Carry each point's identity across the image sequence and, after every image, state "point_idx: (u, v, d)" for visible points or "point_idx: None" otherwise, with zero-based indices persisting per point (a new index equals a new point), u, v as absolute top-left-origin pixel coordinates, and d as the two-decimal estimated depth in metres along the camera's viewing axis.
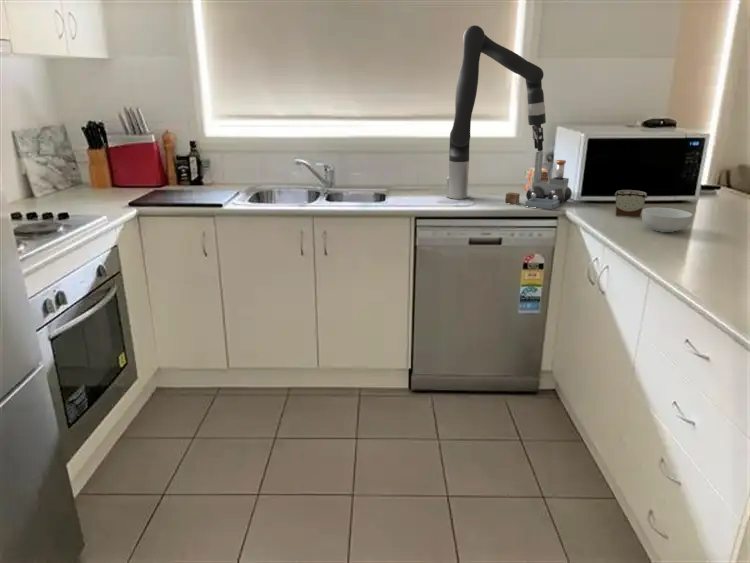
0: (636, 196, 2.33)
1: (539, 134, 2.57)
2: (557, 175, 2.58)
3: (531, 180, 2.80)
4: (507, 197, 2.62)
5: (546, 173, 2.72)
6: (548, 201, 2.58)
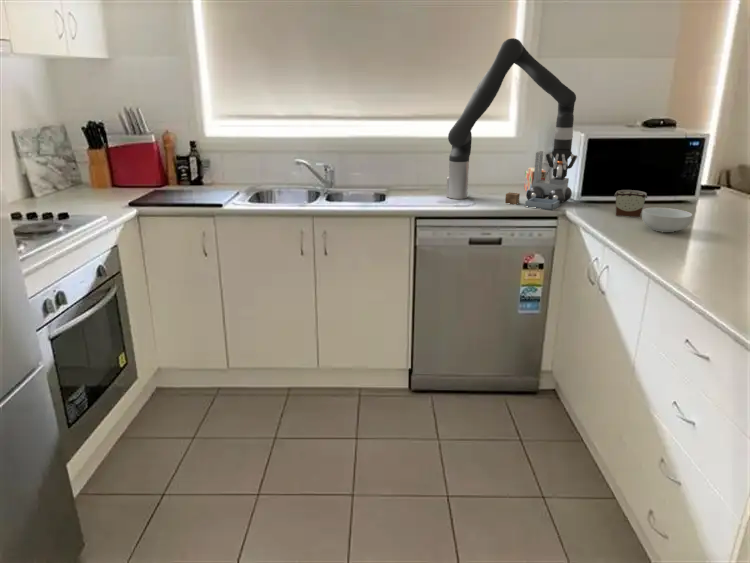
0: (636, 196, 2.33)
1: (573, 162, 2.53)
2: (557, 175, 2.58)
3: (529, 180, 2.81)
4: (507, 197, 2.62)
5: (543, 173, 2.72)
6: (548, 201, 2.58)
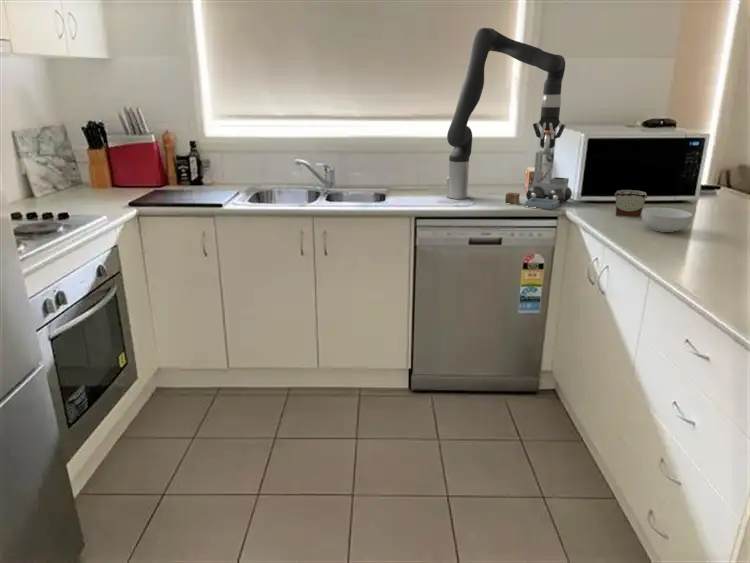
0: (636, 196, 2.33)
1: (561, 131, 2.42)
2: (544, 145, 2.46)
3: (527, 180, 2.81)
4: (507, 197, 2.62)
5: None
6: (548, 201, 2.58)
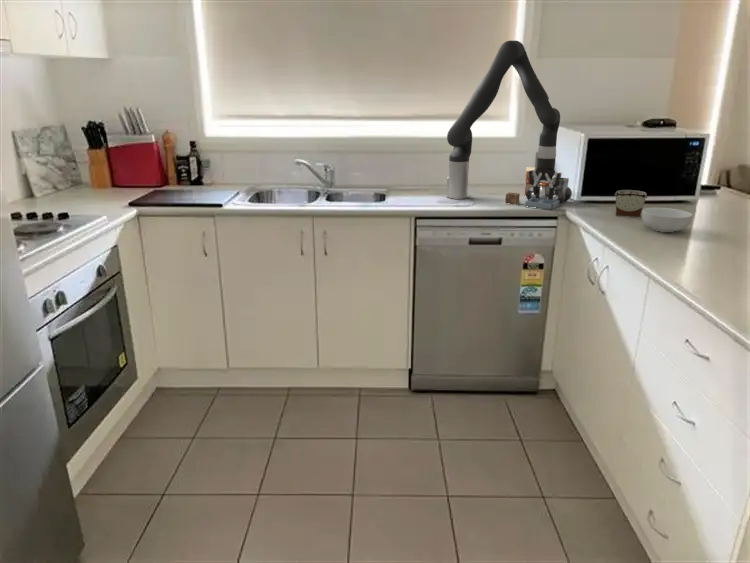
0: (636, 196, 2.33)
1: (559, 179, 2.48)
2: (540, 197, 2.54)
3: None
4: (507, 197, 2.62)
5: None
6: (548, 201, 2.58)
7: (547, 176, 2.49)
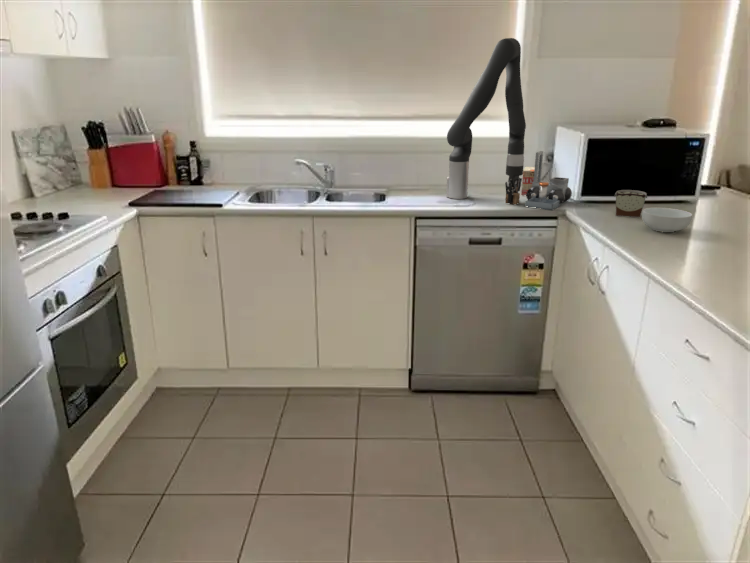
0: (636, 196, 2.33)
1: None
2: (540, 197, 2.54)
3: None
4: (507, 197, 2.62)
5: None
6: (548, 201, 2.58)
7: (518, 182, 2.60)
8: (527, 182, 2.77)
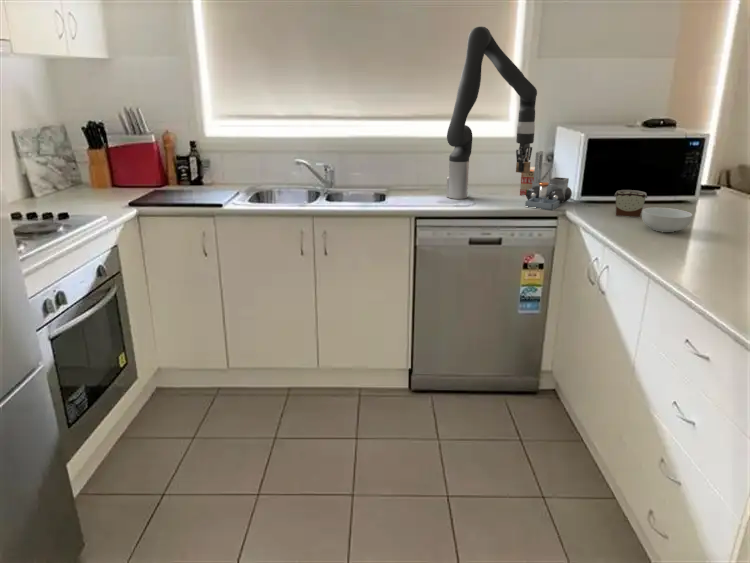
0: (636, 196, 2.33)
1: None
2: (540, 197, 2.54)
3: None
4: (518, 165, 2.61)
5: (532, 172, 2.75)
6: (548, 201, 2.58)
7: (529, 150, 2.60)
8: (526, 182, 2.77)
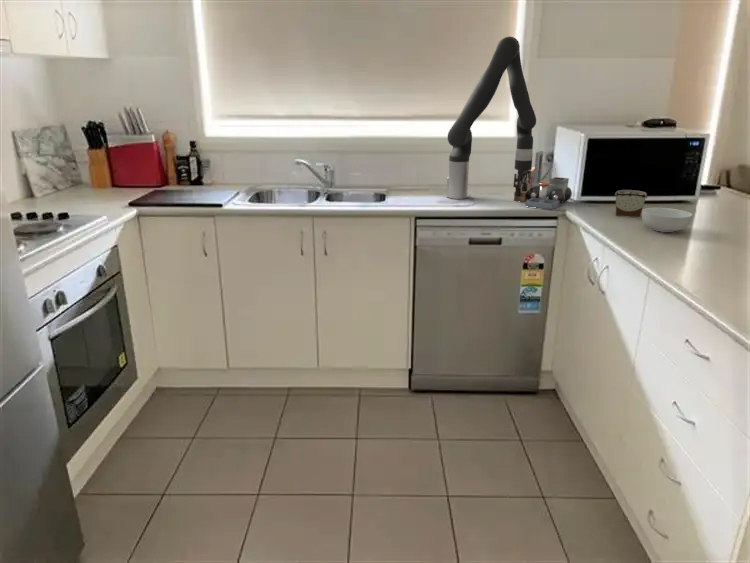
0: (636, 196, 2.33)
1: None
2: (540, 197, 2.54)
3: None
4: None
5: None
6: (548, 201, 2.58)
7: (527, 176, 2.64)
8: None
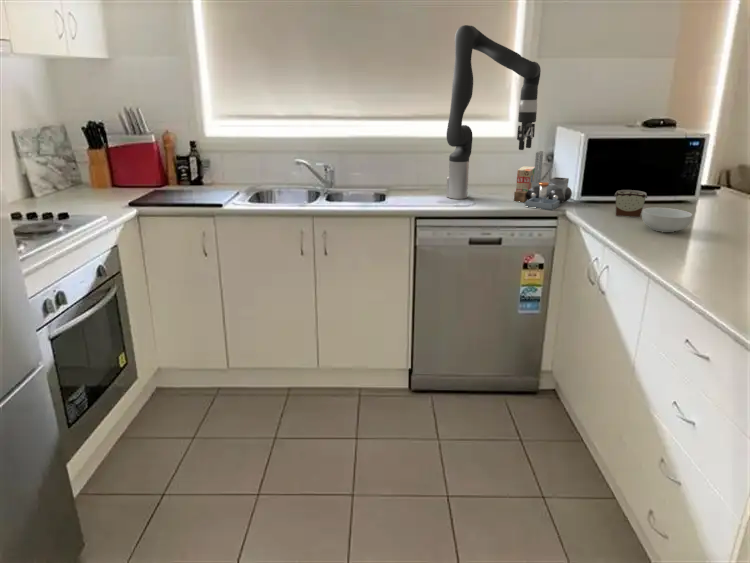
0: (636, 196, 2.33)
1: None
2: (540, 197, 2.54)
3: None
4: (516, 195, 2.66)
5: (528, 172, 2.76)
6: (548, 201, 2.58)
7: (531, 129, 2.54)
8: (522, 181, 2.79)
